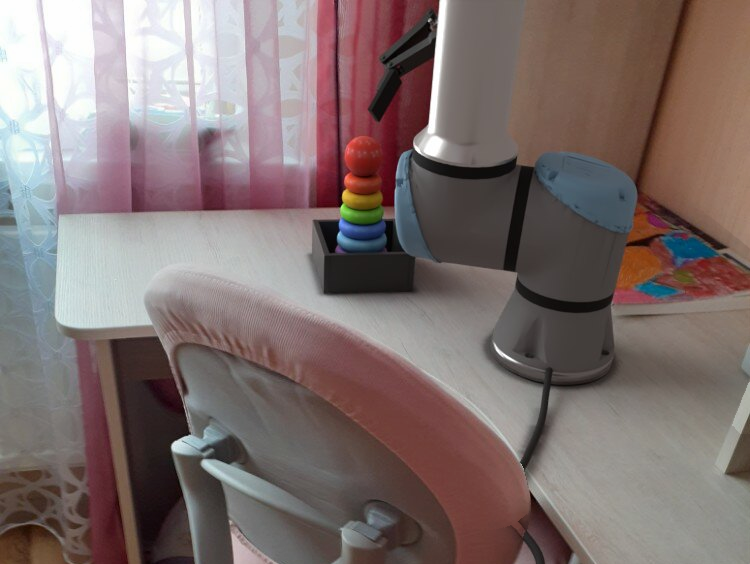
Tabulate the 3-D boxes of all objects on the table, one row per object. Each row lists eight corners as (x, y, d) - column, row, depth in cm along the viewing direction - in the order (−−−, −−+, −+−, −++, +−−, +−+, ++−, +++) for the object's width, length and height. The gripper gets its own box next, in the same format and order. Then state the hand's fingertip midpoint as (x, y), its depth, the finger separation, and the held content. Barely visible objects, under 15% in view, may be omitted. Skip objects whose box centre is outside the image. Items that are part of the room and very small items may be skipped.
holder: (412, 291, 118) (416, 253, 115) (323, 293, 116) (324, 255, 113) (394, 254, 128) (397, 218, 124) (311, 255, 126) (312, 219, 122)
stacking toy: (390, 264, 125) (399, 131, 113) (385, 287, 119) (395, 149, 107) (337, 259, 125) (341, 126, 113) (329, 282, 119) (333, 144, 107)
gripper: (573, 28, 113) (493, 166, 113) (426, -3, 125) (355, 122, 125) (561, -15, 106) (476, 132, 107) (407, -43, 118) (331, 89, 118)
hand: (410, 127), depth 116 cm, fingers open, 13 cm apart
